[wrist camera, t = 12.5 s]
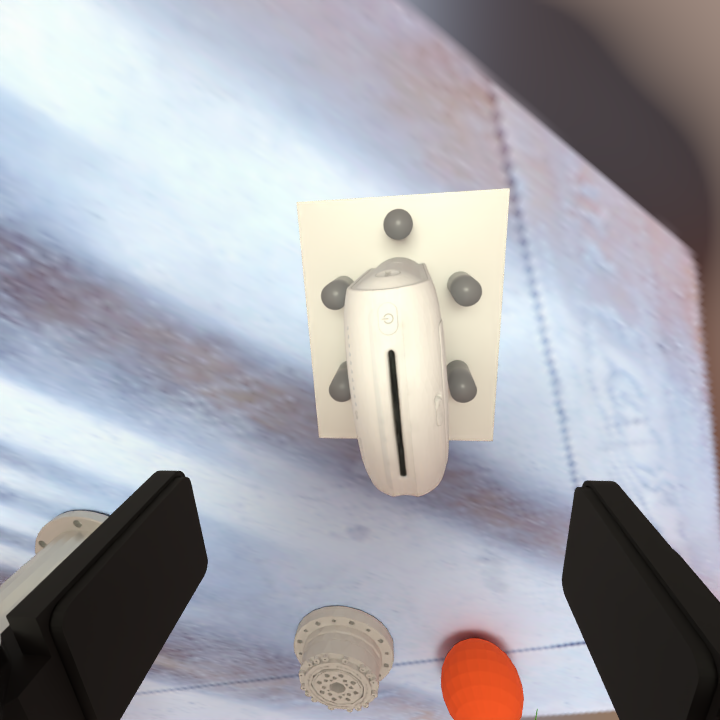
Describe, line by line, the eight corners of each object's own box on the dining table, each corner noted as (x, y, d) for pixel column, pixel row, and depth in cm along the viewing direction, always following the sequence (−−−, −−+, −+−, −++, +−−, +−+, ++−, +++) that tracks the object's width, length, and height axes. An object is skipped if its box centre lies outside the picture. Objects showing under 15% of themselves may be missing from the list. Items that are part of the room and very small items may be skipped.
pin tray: (488, 430, 30) (503, 469, 25) (323, 428, 31) (308, 463, 27) (503, 190, 24) (526, 181, 19) (302, 203, 26) (278, 198, 21)
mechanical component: (332, 682, 42) (412, 657, 39) (324, 732, 38) (412, 709, 35) (278, 621, 40) (359, 590, 37) (263, 666, 36) (352, 636, 33)
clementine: (530, 628, 36) (558, 721, 29) (516, 678, 38) (538, 775, 31) (443, 614, 36) (450, 701, 30) (433, 664, 39) (438, 755, 32)
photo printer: (362, 258, 25) (322, 285, 14) (429, 251, 24) (446, 272, 13) (378, 402, 28) (357, 523, 17) (438, 398, 28) (458, 523, 16)
